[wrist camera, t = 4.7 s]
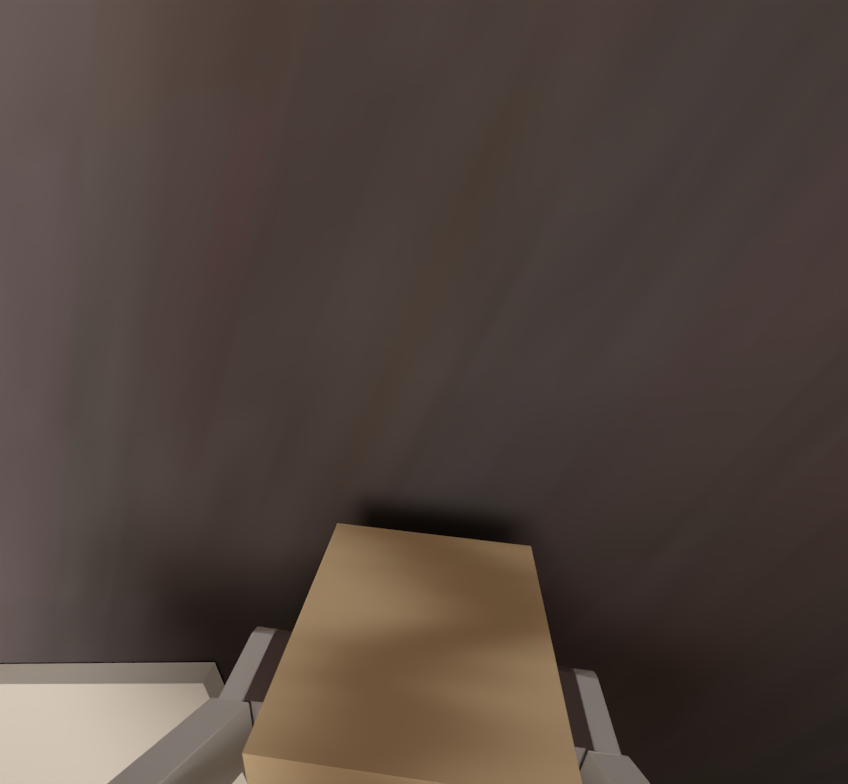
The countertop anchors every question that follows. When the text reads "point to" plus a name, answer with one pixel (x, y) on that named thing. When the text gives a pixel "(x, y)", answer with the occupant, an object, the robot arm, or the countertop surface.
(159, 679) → the coaster
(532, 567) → the oak cube
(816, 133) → the countertop surface
